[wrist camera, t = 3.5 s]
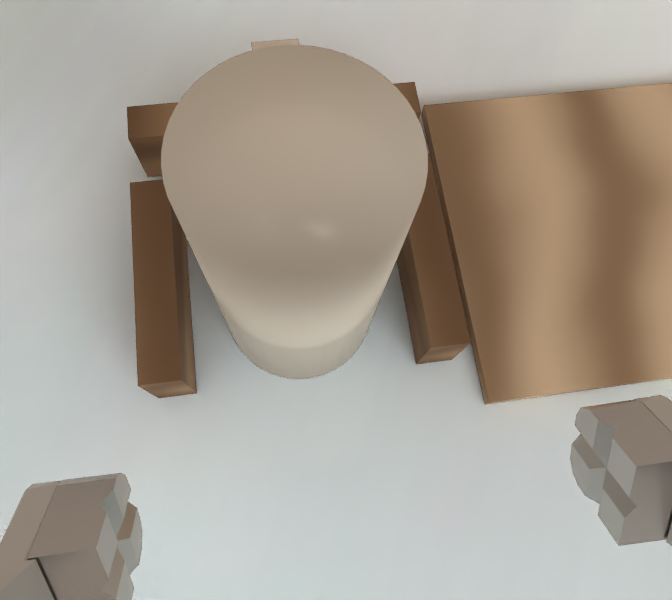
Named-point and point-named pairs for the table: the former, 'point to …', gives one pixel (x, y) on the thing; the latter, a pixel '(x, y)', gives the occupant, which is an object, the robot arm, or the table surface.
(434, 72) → the table surface
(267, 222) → the white cylinder
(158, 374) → the holder
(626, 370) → the square wooden board
